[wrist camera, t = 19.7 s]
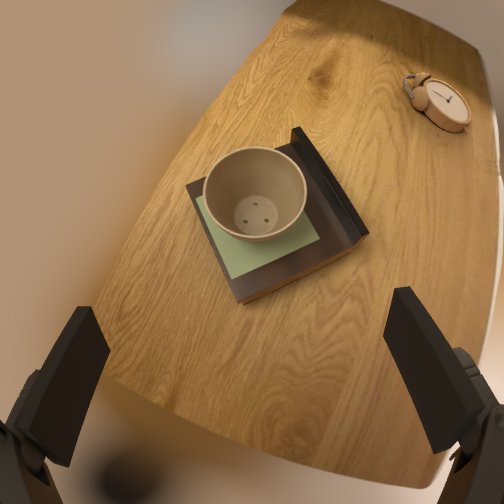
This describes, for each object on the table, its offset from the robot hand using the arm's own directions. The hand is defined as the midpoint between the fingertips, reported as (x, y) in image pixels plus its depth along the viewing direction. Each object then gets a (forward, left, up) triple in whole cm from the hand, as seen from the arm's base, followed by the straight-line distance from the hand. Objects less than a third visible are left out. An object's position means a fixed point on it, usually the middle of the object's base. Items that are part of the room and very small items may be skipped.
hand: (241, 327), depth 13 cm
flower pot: (+6, +12, -21) cm, 25 cm away
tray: (+8, +12, -25) cm, 29 cm away
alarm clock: (+48, +21, -25) cm, 58 cm away
